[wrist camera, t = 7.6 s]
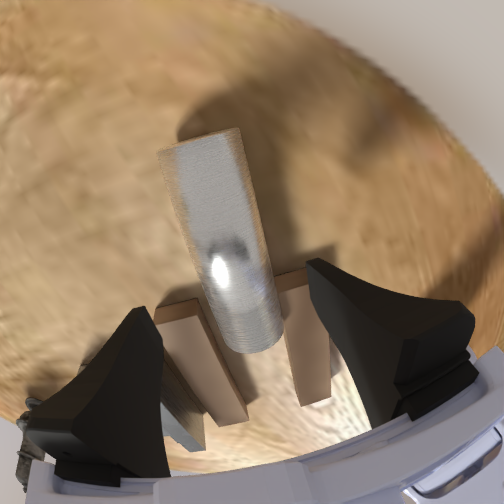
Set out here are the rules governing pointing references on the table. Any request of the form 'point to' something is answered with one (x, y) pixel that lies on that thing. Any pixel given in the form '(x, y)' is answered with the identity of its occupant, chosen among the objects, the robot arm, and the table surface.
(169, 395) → the v block
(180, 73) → the table surface
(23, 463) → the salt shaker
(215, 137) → the axle
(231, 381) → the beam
